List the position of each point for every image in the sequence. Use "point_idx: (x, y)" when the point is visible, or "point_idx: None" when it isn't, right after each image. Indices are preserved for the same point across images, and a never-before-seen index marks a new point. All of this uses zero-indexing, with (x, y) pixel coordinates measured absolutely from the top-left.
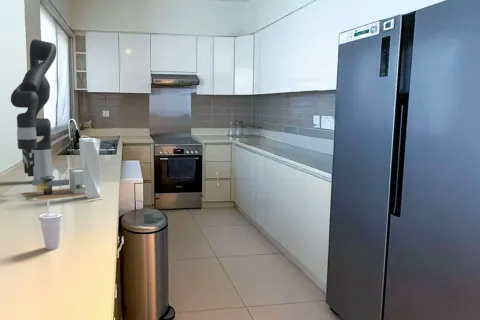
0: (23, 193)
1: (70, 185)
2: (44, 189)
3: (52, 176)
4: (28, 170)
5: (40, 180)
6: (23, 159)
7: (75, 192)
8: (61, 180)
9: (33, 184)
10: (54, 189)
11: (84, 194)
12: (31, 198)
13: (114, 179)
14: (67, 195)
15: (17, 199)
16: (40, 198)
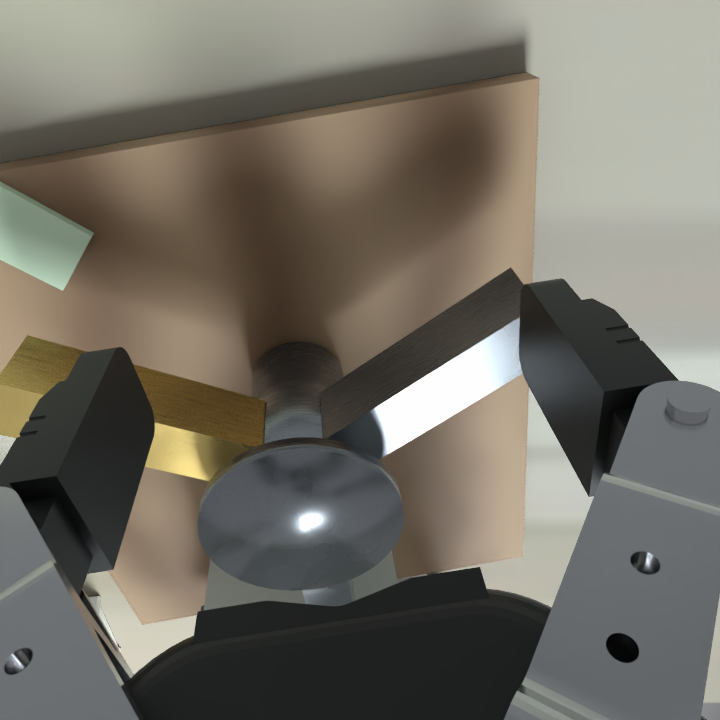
0: (478, 114)
1: (371, 575)
2: (263, 385)
3: (325, 574)
4: (41, 444)
5: (413, 410)
6: (572, 556)
7: (210, 570)
8: (302, 590)
9: (487, 290)
10: (520, 423)
11: (163, 605)
12: (38, 219)
13: (710, 696)
14: (159, 514)
15: (279, 20)
16: (64, 309)
